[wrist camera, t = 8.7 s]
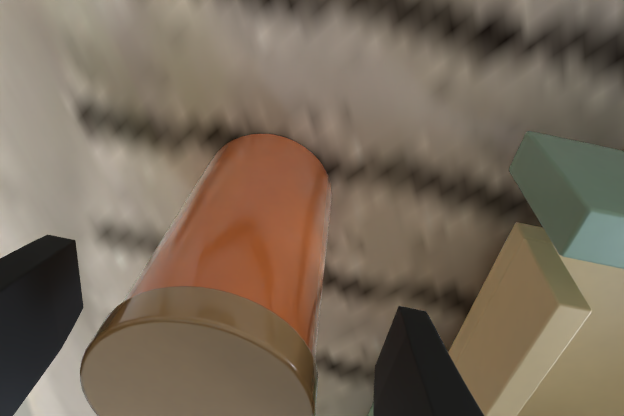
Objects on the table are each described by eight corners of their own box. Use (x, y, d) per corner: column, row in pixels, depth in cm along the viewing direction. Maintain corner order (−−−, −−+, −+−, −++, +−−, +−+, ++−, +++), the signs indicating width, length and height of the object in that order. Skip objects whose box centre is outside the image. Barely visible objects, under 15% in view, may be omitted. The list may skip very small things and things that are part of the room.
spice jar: (348, 146, 13) (338, 348, 7) (320, 257, 16) (293, 486, 9) (206, 116, 13) (65, 294, 7) (199, 232, 15) (88, 447, 9)
